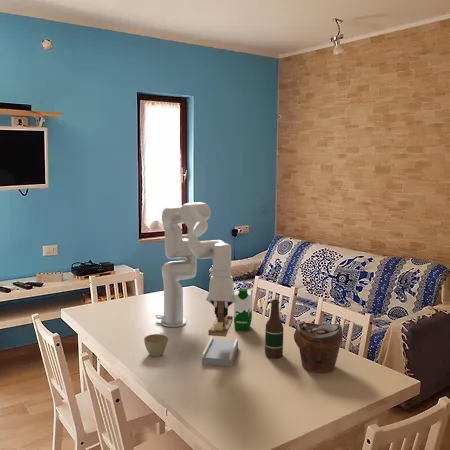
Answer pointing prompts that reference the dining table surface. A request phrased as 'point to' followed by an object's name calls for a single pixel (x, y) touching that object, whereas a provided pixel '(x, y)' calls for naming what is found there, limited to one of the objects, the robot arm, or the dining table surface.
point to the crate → (218, 326)
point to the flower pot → (155, 344)
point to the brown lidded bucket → (318, 345)
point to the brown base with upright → (221, 319)
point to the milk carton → (243, 310)
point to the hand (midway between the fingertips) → (221, 315)
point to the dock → (220, 352)
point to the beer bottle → (274, 333)
